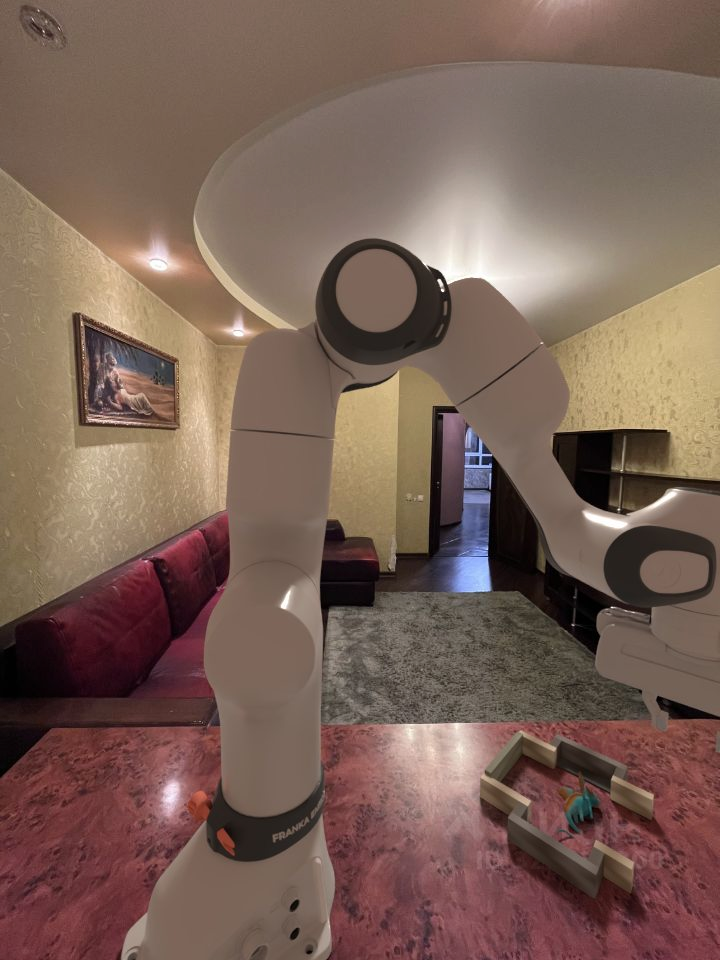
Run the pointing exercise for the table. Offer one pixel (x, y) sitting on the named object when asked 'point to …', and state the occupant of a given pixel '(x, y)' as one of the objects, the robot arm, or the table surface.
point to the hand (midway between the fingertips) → (690, 739)
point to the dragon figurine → (578, 803)
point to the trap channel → (542, 845)
